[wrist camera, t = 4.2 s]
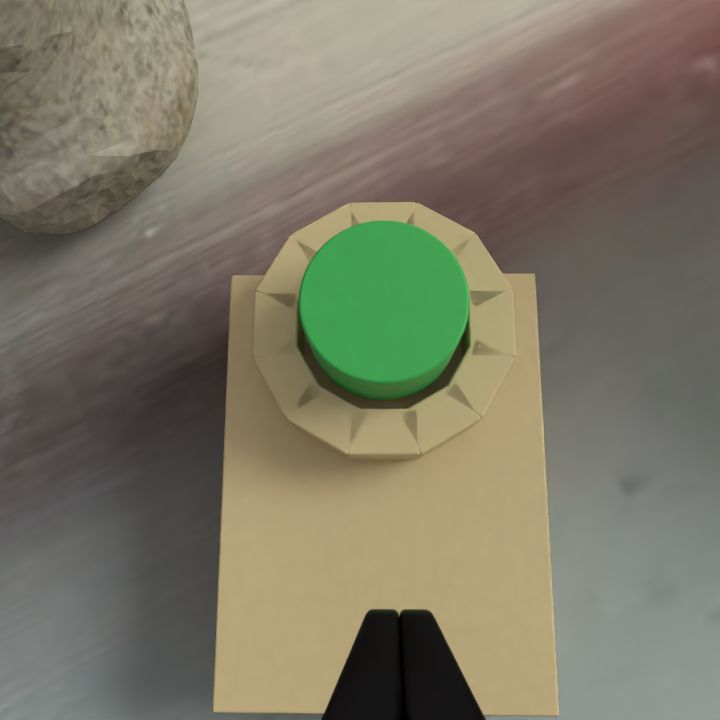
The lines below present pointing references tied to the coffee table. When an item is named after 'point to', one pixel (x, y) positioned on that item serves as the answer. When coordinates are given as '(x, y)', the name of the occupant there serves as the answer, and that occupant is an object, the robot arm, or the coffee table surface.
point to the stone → (89, 106)
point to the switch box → (383, 493)
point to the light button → (383, 308)
